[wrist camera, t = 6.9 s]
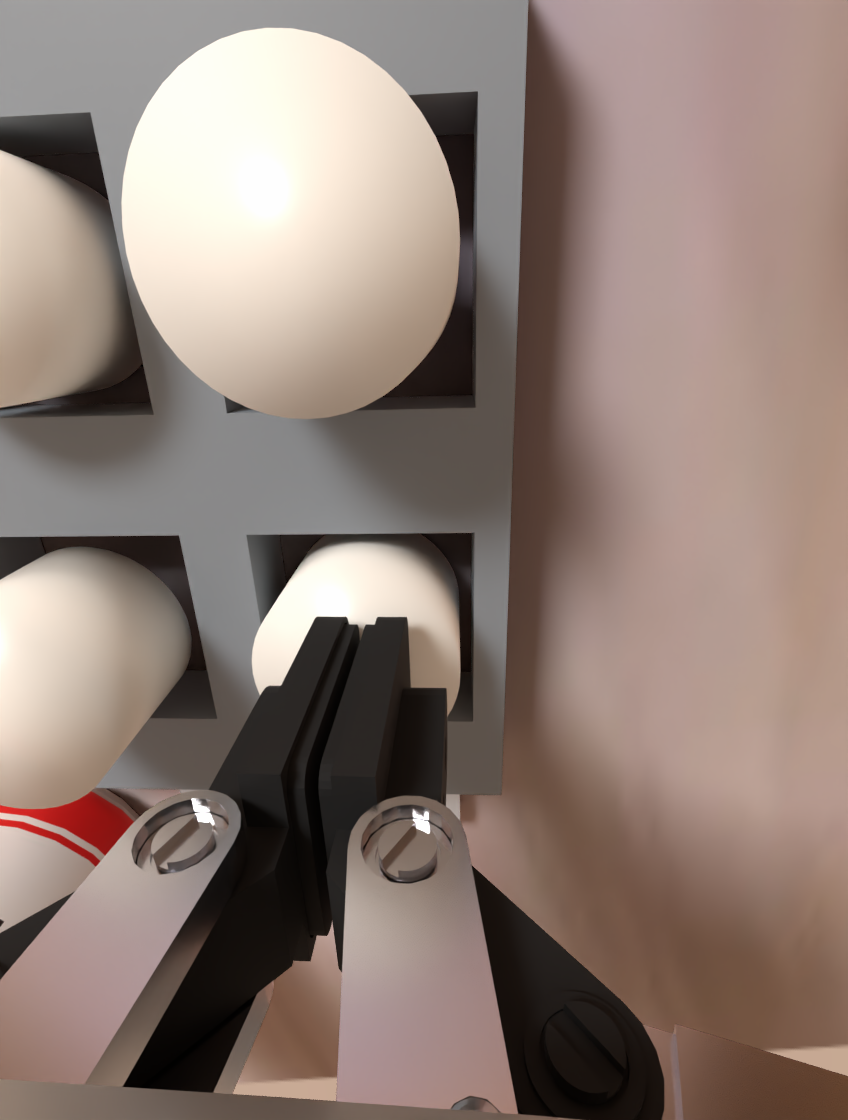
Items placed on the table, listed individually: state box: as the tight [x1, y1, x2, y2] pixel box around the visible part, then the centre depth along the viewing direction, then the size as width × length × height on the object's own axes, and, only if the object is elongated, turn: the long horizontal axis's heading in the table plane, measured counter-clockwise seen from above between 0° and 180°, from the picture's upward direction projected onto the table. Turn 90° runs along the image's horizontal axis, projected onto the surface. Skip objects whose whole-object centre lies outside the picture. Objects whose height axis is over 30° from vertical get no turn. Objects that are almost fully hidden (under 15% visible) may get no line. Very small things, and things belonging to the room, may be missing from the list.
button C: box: [121, 28, 460, 419], centre depth 8 cm, size 4×4×3 cm
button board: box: [0, 0, 528, 820], centre depth 12 cm, size 12×18×2 cm, turn 1°
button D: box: [0, 150, 143, 408], centre depth 10 cm, size 4×4×3 cm
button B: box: [0, 546, 192, 809], centre depth 11 cm, size 4×4×3 cm
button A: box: [252, 533, 460, 716], centre depth 12 cm, size 4×4×3 cm
